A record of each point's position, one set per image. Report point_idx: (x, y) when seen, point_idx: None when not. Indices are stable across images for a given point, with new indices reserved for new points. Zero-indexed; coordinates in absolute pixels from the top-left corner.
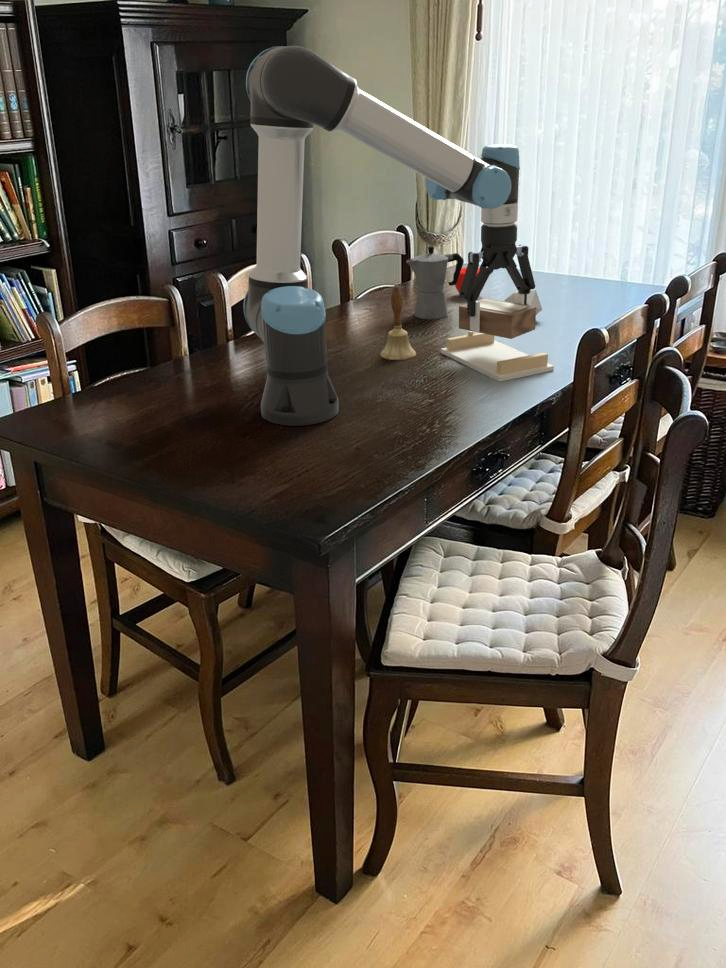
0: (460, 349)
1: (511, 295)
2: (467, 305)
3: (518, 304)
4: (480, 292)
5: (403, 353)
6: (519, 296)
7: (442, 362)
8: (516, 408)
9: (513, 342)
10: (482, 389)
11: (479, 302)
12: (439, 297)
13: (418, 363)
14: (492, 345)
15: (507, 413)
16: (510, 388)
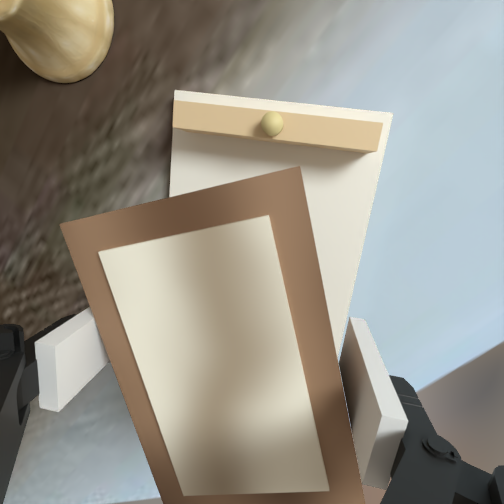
0: (220, 145)
1: None
2: (26, 342)
3: (335, 426)
4: (15, 457)
5: (42, 64)
6: (364, 452)
7: (133, 181)
8: (104, 491)
9: (456, 158)
10: (107, 392)
11: (57, 409)
12: None
13: (73, 142)
14: (335, 179)
15: (78, 494)
16: None
